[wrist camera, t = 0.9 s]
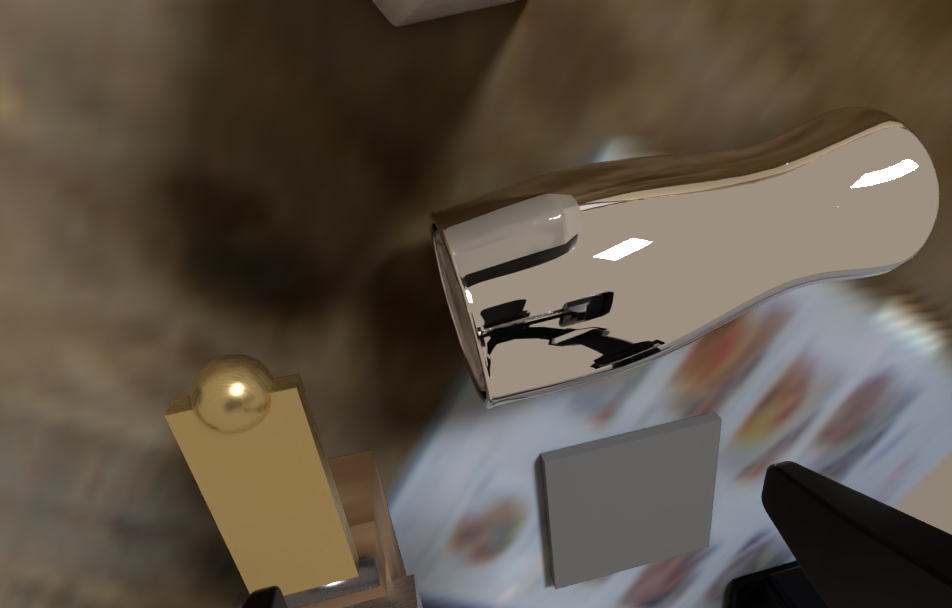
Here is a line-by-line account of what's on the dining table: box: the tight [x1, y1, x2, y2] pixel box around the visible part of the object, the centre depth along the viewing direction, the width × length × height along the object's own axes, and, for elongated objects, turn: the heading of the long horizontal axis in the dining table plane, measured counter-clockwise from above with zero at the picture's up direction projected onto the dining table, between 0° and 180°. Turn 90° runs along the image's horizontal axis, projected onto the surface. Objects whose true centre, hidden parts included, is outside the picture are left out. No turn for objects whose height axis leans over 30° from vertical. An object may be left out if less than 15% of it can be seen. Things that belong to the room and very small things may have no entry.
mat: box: [541, 412, 722, 589], centre depth 27 cm, size 9×9×1 cm
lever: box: [165, 354, 380, 608], centre depth 15 cm, size 9×4×2 cm, turn 7°
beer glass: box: [428, 107, 939, 409], centre depth 18 cm, size 7×7×15 cm
